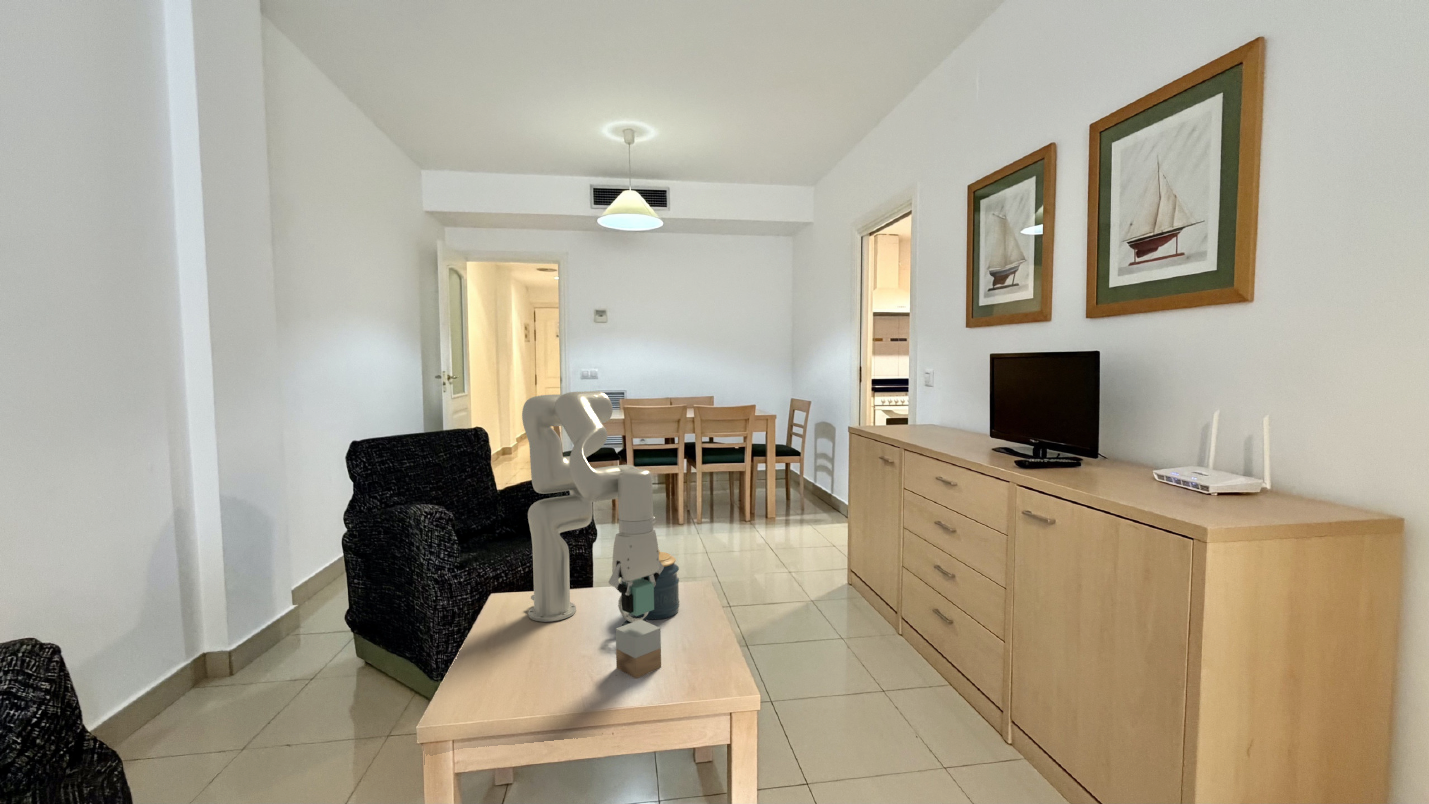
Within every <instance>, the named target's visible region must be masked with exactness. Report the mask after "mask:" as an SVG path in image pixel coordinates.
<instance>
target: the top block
mask: <svg viewBox="0 0 1429 804" xmlns="http://www.w3.org/2000/svg"><path fill="white" fill-rule="evenodd" d="M661 633H662V632H661V627H659V626H656V625H655V624H652V623H650V622H647V620H646V621H643V620H638V621H635V622H632V623H630V624H627V625H624V626H622V625H621V626H619V627H616V628H615V646H616V647H615V648H616V649H618V650H620V651H622V652H624V653H626V654H628V655H630V656H632V657H634V658H638V657H640V656H643V655H645V654H648V653H650V652H652V651H655V650H657V649H660V648H661V649H662V646H661V644H662V642H661V641H662V640H661V638H662V637H661V636H662V635H661ZM616 649H615V650H616Z"/></svg>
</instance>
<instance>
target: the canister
mask: <svg viewBox="0 0 1429 804" xmlns="http://www.w3.org/2000/svg"><path fill="white" fill-rule="evenodd" d="M658 551H659V561H660V562H661V564H662V565H663V566H664V569H663V570H662V572H661V573H660V574H659V577H658V579H657V580H656V582H655V583H656V585H655V587H654V610H652V611H649V613H648V615H647V616H646V620H662V619H667V617H668V618H670V616H671V617H673V616H676V614H677V613H678V612H679V610H680V609H679V608H680V597H679V595H680V594H679V589H680V588H679V582H680V579H679V577H678V572H679V570H680V567H679V566H678V565H677V564H676V558H675V557H674V555H673V556H672V555H671V554H670V553H668V552H663V551H660V549H659V548H658ZM641 579H643V578H641ZM644 615H645V614H641V615H638V616H636V617H644Z"/></svg>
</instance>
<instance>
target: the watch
mask: <svg viewBox="0 0 1429 804" xmlns="http://www.w3.org/2000/svg"><path fill="white" fill-rule="evenodd" d="M617 607H618V609H619V613H620V615H621V616H622V618H623V619H624V620H625V621H624V622H623V623H622V624H621V626H624V625H627V624H630V623H632V622H635V621H638V620H643V621H646V622H647V619H646V616H647V615H648V613H649V612H646V613H644V614H645V615H644V617H637V616H635V615H631V614H630V613H627V612H625V611H622V599H621V595H620V596H619V599H618V605H617Z"/></svg>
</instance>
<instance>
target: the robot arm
mask: <svg viewBox="0 0 1429 804" xmlns="http://www.w3.org/2000/svg"><path fill="white" fill-rule="evenodd" d="M613 410H614V409H613V403H612V401H611V399H610V398H609V396H608V395H607V394H606V393H605V392H603V391H596V390H595V391H594V390H593V391H591V390H590V391H586V390H585V391H570V392H566V393H563V394H542V395H536V396H533V397H530V398H528V399H527V400H526V401H525V402H524V404H523V407H522V411H521V412H522V413H521V419H522V424H523V428H524V431H525V435H526V437H527V441H528V445H529V447H528V448H529V458H530V459H529V460H530V462H529V463H530V475H531V478H530V479H531V485H532V487H533V490H534V491H535V492H536V493H538V494H543V495H544V494H546V495H547V494H552V493H553V494H554V493H561V492H562V493H563V492H568V491H569V494H570V495H564V496H563V495H562V496H556V497H549V498H543V499H539V500H537V501H535V502H533V504H531V505H530V507H529V508H528V511H527V519H528V520H527V521H528V525H529V531H530V536H531V544H532V568H533V569H532V571H533V573H532V574H533V594H532V595H531V596H530V600H532V601H533V606H532V607H531V608H530V609H529V610H528V617H529V618H530V619H531V620H532V621H536V622H543V623H548V622H550V623H551V622H556V621H558V622H559V621H562V620H565V619H568V618H570V617H572V616H573V615H574V614H576V612H577V605H575V603H573V602H571V595H570V594H571V588H570V585H571V584H570V551H569V545H568V544H567V542H566V541H565V539H563V537H562V536H561V533H565V532H568V531H569V532H570V531H573V530H574V531H575V530H579V529H582V528H586V527H587V526H589V525H590V523H591V522H592V519H593V503H600V502H605V501H611V500H617V501H618V504H617V505H618V510H617V511H618V533H616V534H615V537H614V540H613V542H614V543H613V548H612V549H613V550H612V567H611V568H612V569H611V570H612V574H611V576H610V578H609V580H608V584H609V585H610V586H612V587H613V588H615V589H616V590H617V592H619V593H620V596H621V599H622V610H624V611H626V612H629V614H630V613H632V612H633V595H632V594H631V589H632V584H633V580H637V579H640V578H643V579H644V580H647V581H650V582H653V583H654V587H655V585H656V583H655V582H656V580H657V579H658V577H659V574H660V573H661V572H662V570H663V569H664V566H663V565H662V564H661V562H660V561H659V551H660V550H659V551H658V549H659V544H658V537H657V533H656V529H654V523H656V521H657V519H656V517H655V516H654V503H653V502H654V498H653V495H654V494H653V475H652V473H651V471H649V470H647V469H644V468H640V469H639V468H638V467H636V466H635V465H632V464H620V465H618V464H617V465H609V466H601V467H600V466H599V467H595V468H594V467H592V466H591V465H590V463H589V462H588V460H587V458H588V457H589V456H591V455H592V454H594V453H596V452H597V451H599V450H600V449H601V448H602V447H603V446H604V445H605V444H606V442H607V439H608V431H607V429H606V427H605V426H604V424H605V423H607V422H608V421H610V420H611V418H612V416H613V412H614V411H613ZM552 427H563V429H564V430H565V432H566V434H567V436H568V437H569V439H570V441H571V444H573V447H572V450H571V452H570V454H569V456H563V455H564V454H563V449H562V448H563V447H562V446H563V443H562V440H561V438H560V436H559V434H558V433H557V432H556V430H554V429H553V428H552ZM619 579H620V582H619ZM626 582H627V585H626ZM625 585H626V587H625Z"/></svg>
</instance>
